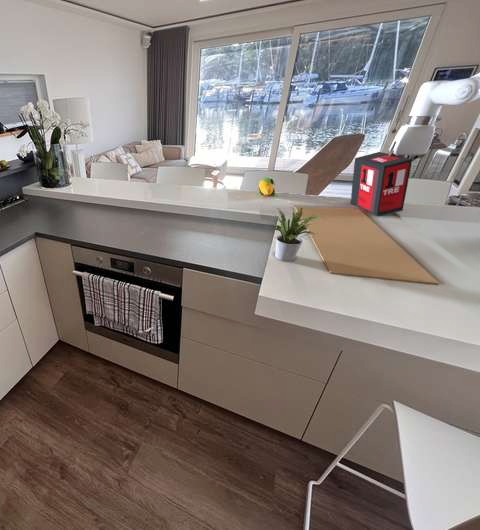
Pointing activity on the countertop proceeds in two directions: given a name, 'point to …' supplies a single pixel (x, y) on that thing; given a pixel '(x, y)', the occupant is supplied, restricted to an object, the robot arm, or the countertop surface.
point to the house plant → (291, 235)
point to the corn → (267, 187)
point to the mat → (360, 246)
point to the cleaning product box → (380, 183)
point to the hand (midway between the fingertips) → (398, 173)
